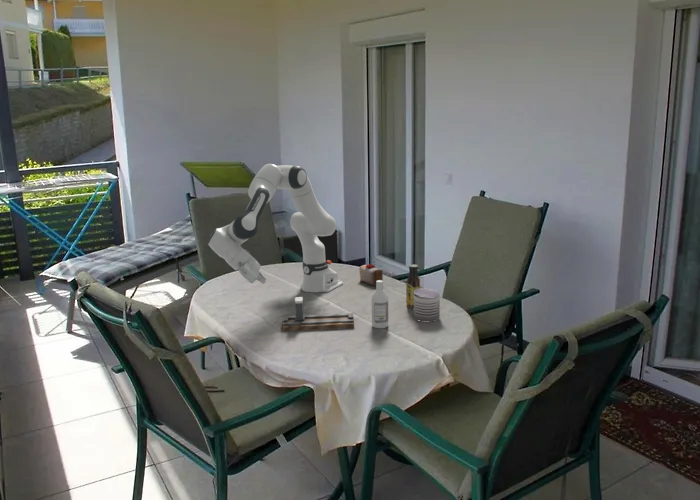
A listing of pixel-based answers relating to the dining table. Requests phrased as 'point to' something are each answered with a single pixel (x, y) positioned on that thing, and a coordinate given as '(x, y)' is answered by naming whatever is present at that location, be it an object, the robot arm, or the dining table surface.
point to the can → (426, 304)
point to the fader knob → (299, 309)
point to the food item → (370, 274)
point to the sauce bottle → (412, 285)
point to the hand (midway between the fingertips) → (264, 281)
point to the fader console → (319, 322)
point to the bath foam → (379, 307)
